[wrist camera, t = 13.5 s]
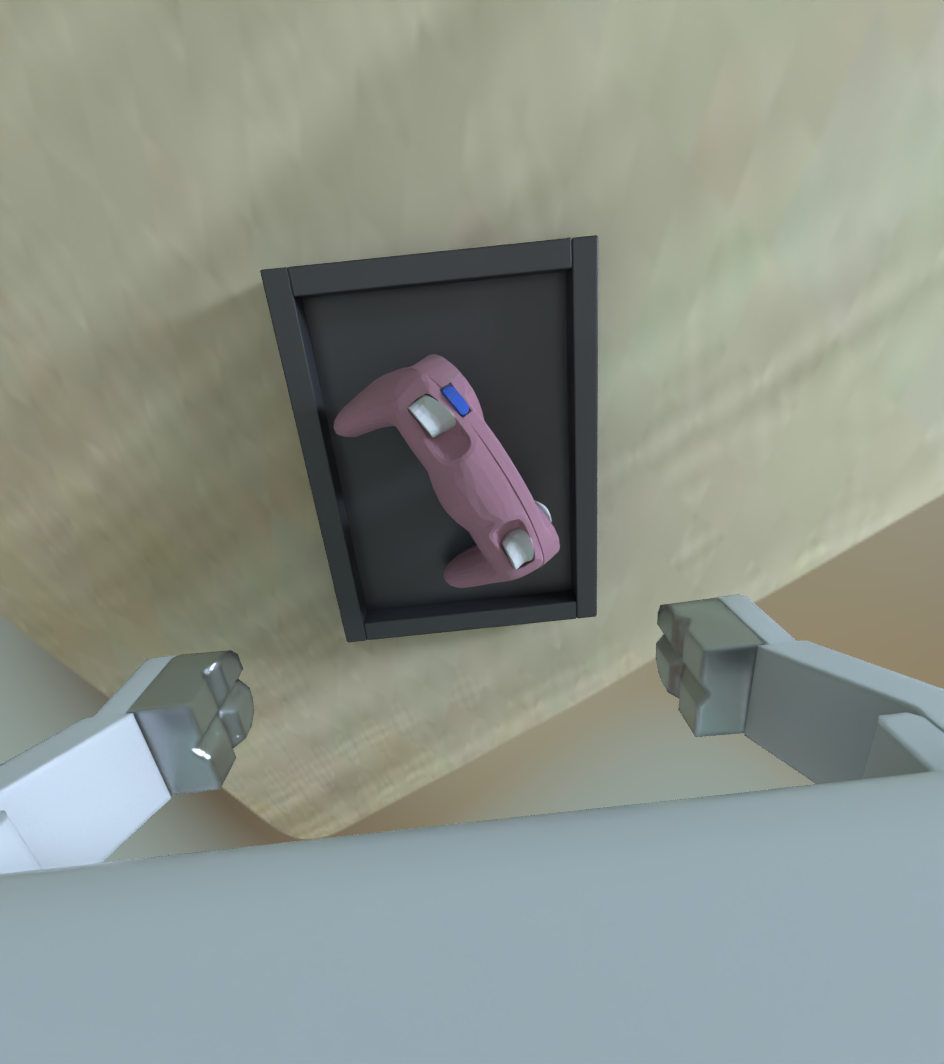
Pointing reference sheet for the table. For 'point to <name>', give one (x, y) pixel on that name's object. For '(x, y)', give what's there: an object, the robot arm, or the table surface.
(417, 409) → the video game controller
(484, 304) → the black rectangular tray
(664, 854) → the robot arm
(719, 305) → the table surface
